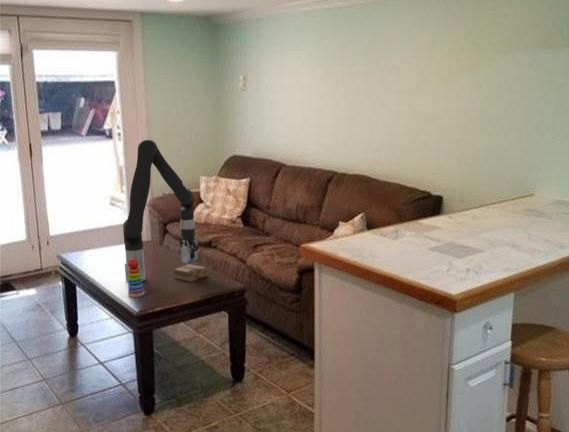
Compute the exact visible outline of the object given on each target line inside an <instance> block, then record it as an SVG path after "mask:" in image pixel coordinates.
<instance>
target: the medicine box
mask: <svg viewBox="0 0 569 432" xmlns="http://www.w3.org/2000/svg"><path fill="white" fill-rule="evenodd" d="M182 246H183V245H182ZM191 247H192V246H191ZM192 250H193V248H192ZM190 253H191V252H190V249H189V247H188V246H183V247H180V254H181V263H184V264H186V265H188V264H192V263H193V262H197V261H199V260H198V250H197V251H196V252H195V258H194V259H191V257H190Z"/></svg>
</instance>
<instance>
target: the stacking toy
mask: <svg viewBox="0 0 569 432" xmlns="http://www.w3.org/2000/svg"><path fill="white" fill-rule="evenodd" d="M138 265H139V262H138V260H137V259H134V258H133V259H130V260H129V261H128V266H129V267H130V269H129V272H130V273H129V278H128V279H129V281H128V288H127V289H128V290H127V292H128V293H127V295H128V297H131V298H139V297H142V296H144V295H145V288H144V286H143V285H144V284H143V281H142V280H141V276H140V272H139V268H138Z"/></svg>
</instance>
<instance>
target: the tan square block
mask: <svg viewBox="0 0 569 432" xmlns="http://www.w3.org/2000/svg"><path fill="white" fill-rule="evenodd" d="M173 276H174V279H178V280H182V281H187V282H194V281H197V280H198V279H199V280H200V279H201V278H204V277H206V276H207V267H205V266H201V265H197V264H192V263H188V264H185V265H183V266H180V267H178V268H175V269H173Z"/></svg>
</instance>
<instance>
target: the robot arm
mask: <svg viewBox="0 0 569 432" xmlns="http://www.w3.org/2000/svg"><path fill="white" fill-rule="evenodd" d="M136 159H137V160H136V164H135V165H136V167H135V170H134V173H133V178H132V181H131V187H130V190H129V191H130V193H129V212H128V217H127V218H126V220H125V221H124V222H123V226H122V227H123V229H122V231H123V241H124V251H125V263H124V272H125V281H126V282H129V279H128V278H129V273H130V272H129V269H130V267H129V266H128V261H129V260H130V259H133V258H134V259H137V260H138V262H139V265H138V268H139V272H140V276H141V280H142V282H143V281H145V280H146V271H145V270H146V269H145V256H144V242H143V235H142V234H143V233H142V232H143V226H144V214H145V210H146V207H147V202H148V197H149V193H150V188H151V176H152V175H151V174H152V172H151V171H152V164H153V166H154V167H155V168H156V170H157V172H158V173H159V175H160V176H161V178H162V179H163V180H164V182H165V183H166V184H167V186H168V187H169V188H170V190H172V192H173V193H174V195H175V197H176V199H177V200H178V201H179V202H180V211H179V214H180V215H179V216H180V222H179V224H180V237H179V238H178V241H179V245H180V248H181V247H183V246H188V247H189V249H190V252H191V253H190V257H191V259H194V258H195V252H196V251H197V252H198V248H199V241H198V240H196V239H195V236H196V226H195V225H196V223H195V213H194V194H193V191H192V190H190V189H188V188H186V187H185V185H184V183H183V180H182V179H181V177H179V175H178V174H177V173H176V171H175V170H174V169H173V168H172V167H171V165H170V164H169V163H168V161H166V158H165V157H164V156H163V154H162V152H161V151H160V150H159V147H158V145H157V143H156V142H155V141H153V139H149V138H148V139H143V140H141V141H140V142H139V144H138V145H137V158H136ZM191 246H192V247H191ZM192 248H193V250H192Z"/></svg>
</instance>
